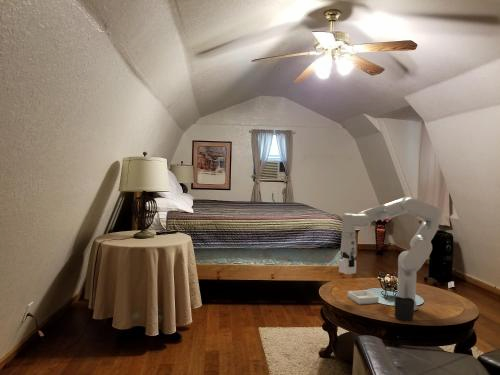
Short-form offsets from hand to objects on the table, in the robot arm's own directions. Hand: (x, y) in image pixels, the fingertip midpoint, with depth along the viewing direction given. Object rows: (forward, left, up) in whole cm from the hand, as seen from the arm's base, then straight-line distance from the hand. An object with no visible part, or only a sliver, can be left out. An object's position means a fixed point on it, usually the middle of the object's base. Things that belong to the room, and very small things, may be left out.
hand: (347, 264), depth 222 cm
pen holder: (-29, -17, -22) cm, 40 cm away
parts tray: (0, -11, -21) cm, 24 cm away
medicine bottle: (0, 0, -5) cm, 5 cm away
